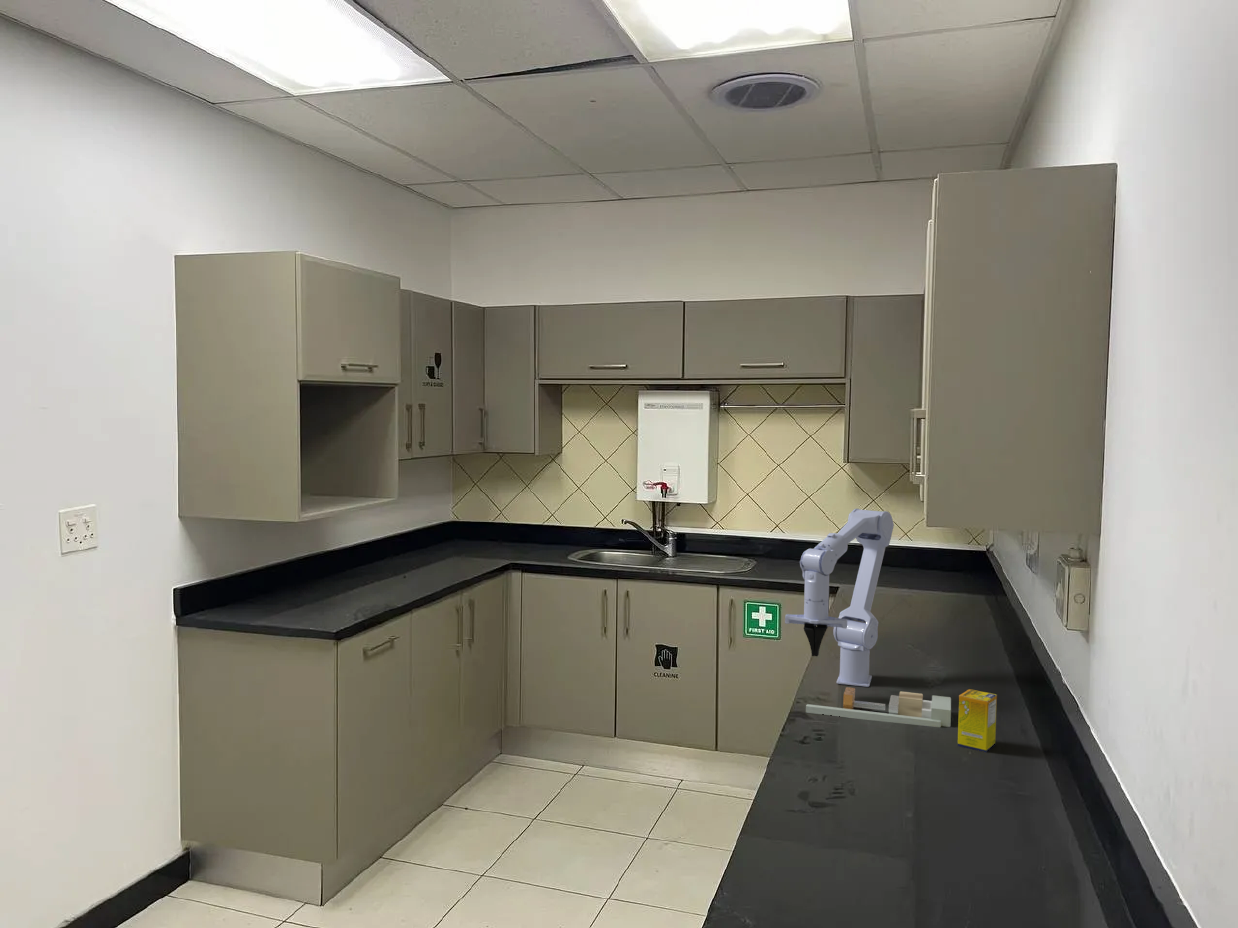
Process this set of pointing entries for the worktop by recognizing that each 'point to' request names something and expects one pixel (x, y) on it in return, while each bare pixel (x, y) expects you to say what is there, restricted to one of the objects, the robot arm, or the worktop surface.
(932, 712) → the vise
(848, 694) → the vise jaw
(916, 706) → the maple block
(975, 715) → the supplement box
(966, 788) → the worktop surface
